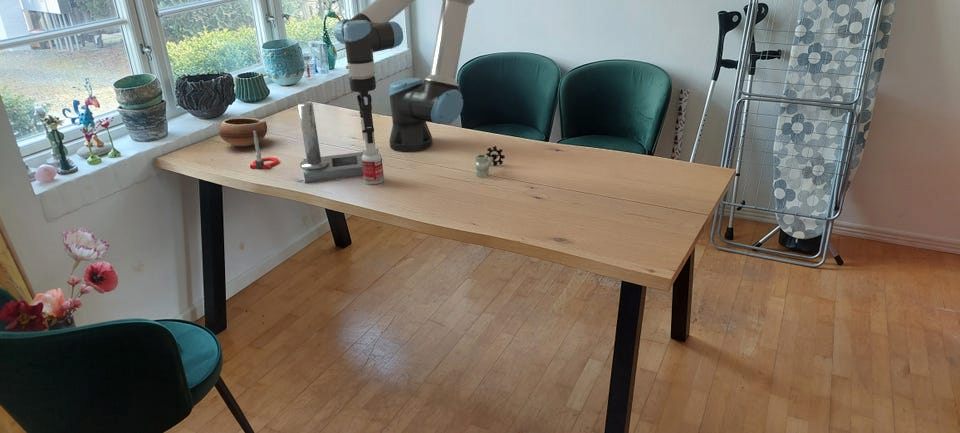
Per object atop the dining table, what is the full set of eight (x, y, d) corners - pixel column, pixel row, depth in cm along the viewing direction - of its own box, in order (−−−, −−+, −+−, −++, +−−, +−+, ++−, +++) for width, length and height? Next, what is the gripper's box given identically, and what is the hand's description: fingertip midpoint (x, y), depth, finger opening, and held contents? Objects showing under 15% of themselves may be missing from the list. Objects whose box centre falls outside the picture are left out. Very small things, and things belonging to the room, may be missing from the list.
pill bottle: (379, 185, 209) (375, 151, 204) (360, 184, 210) (356, 150, 206) (387, 178, 214) (383, 144, 209) (369, 176, 216) (365, 143, 211)
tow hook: (260, 160, 235) (247, 169, 227) (254, 123, 230) (241, 131, 222) (283, 160, 234) (271, 169, 226) (277, 124, 229) (265, 131, 221)
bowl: (276, 141, 251) (272, 115, 247) (242, 155, 239) (237, 128, 235) (248, 136, 259) (243, 110, 255) (213, 148, 247) (208, 122, 243)
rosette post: (365, 160, 230) (357, 93, 220) (369, 174, 217) (360, 104, 207) (301, 167, 226) (290, 99, 216) (301, 183, 213) (290, 111, 203)
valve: (489, 179, 210) (505, 166, 219) (488, 159, 207) (504, 147, 216) (470, 177, 212) (486, 163, 222) (469, 157, 210) (486, 144, 219)
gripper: (346, 68, 208) (353, 134, 217) (351, 87, 186) (359, 160, 195) (371, 66, 210) (377, 132, 219) (379, 84, 188) (386, 157, 196)
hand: (369, 145), depth 207 cm, fingers open, 13 cm apart
